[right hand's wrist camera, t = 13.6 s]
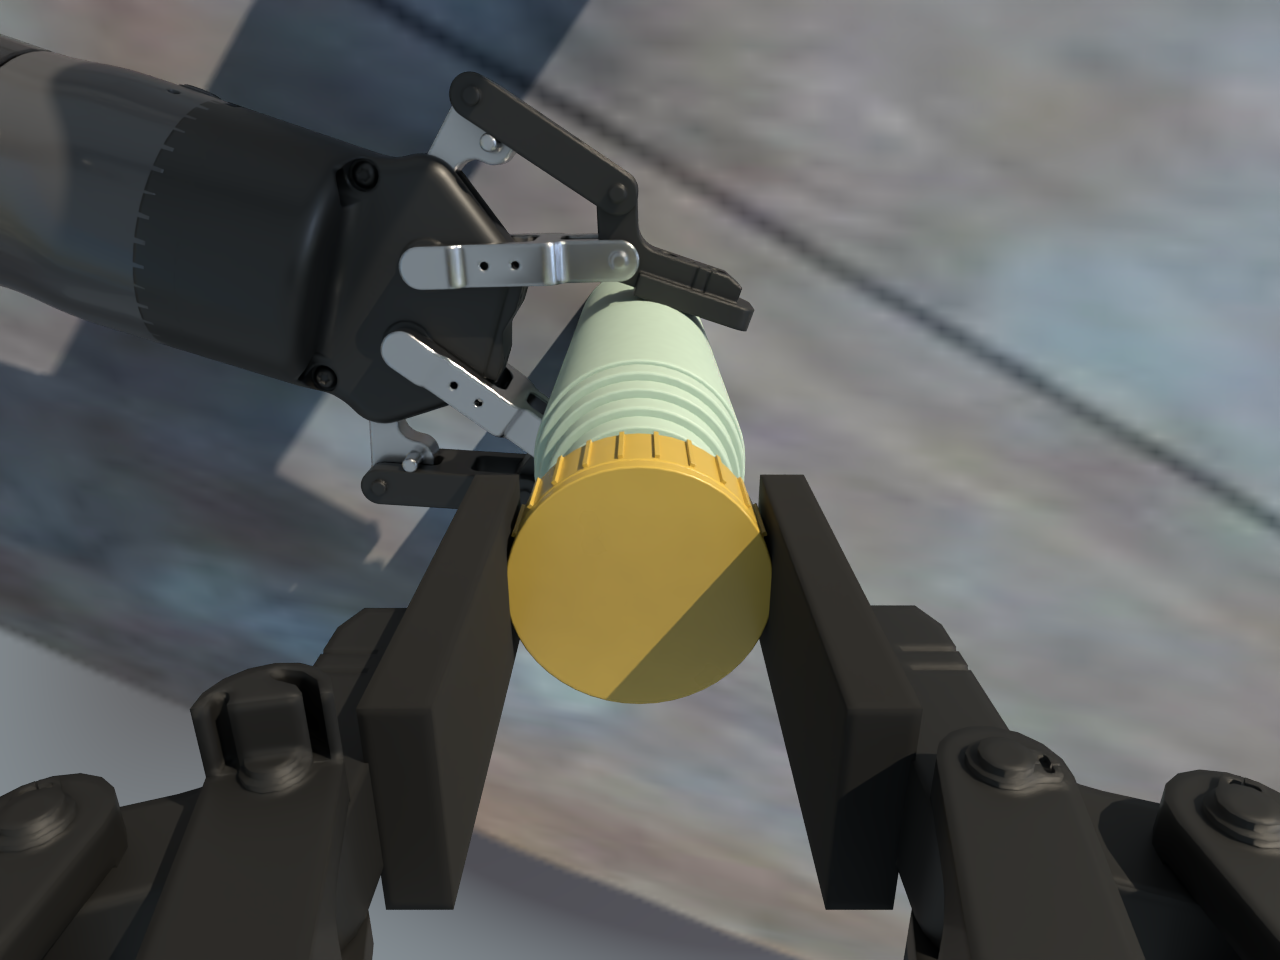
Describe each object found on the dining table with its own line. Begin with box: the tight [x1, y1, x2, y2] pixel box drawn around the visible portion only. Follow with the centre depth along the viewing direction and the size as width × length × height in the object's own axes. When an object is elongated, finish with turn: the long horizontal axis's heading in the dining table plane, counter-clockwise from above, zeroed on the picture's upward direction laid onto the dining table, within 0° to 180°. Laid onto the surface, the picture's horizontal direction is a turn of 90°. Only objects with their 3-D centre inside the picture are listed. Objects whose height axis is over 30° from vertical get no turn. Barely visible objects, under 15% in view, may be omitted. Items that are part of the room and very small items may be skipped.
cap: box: [507, 431, 772, 704], centre depth 14 cm, size 4×4×2 cm
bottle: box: [534, 282, 745, 482], centre depth 23 cm, size 5×5×21 cm
